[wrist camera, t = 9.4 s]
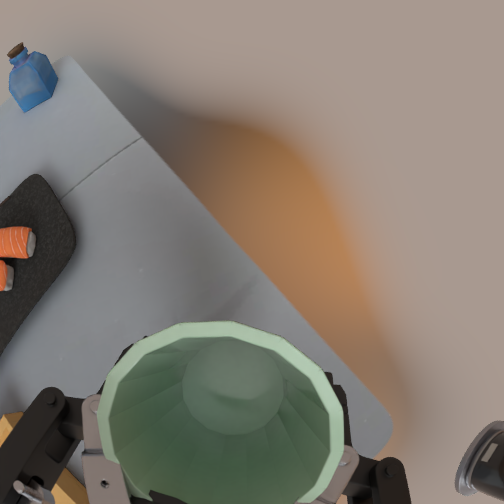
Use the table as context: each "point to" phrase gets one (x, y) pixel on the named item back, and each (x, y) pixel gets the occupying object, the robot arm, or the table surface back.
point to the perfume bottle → (30, 77)
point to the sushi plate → (30, 250)
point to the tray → (67, 486)
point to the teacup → (221, 417)
